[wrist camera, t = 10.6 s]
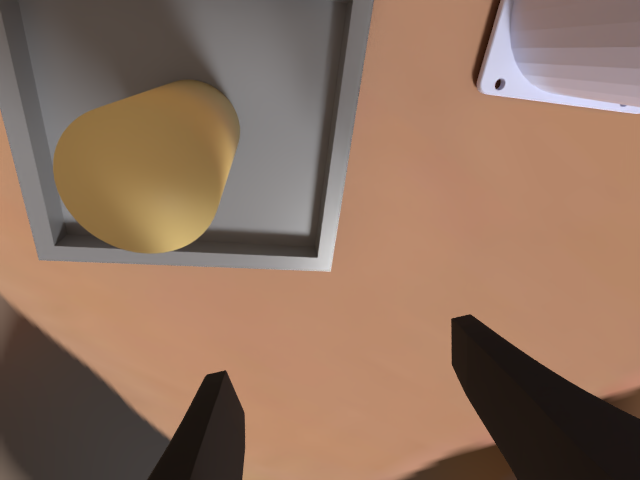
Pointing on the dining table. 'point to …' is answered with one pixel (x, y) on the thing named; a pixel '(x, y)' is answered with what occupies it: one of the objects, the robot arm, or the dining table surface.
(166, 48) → the tray
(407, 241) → the dining table surface
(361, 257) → the dining table surface
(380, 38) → the dining table surface
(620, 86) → the robot arm
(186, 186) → the pin
